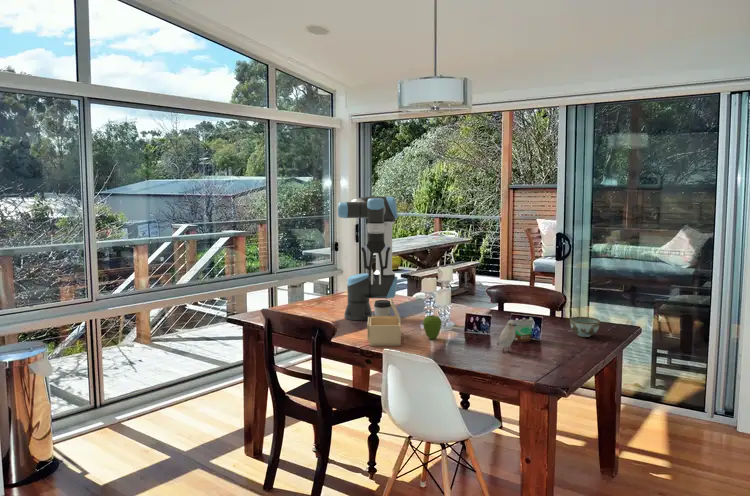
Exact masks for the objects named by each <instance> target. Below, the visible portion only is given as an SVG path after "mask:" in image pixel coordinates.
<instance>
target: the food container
mask: <svg viewBox="0 0 750 496" xmlns="http://www.w3.org/2000/svg"><path fill="white" fill-rule="evenodd" d="M512 320H513V321H515V322H516V325H517V326H515V339H514V340H513V342H518V343H527V342H531V338H532V331H533V329H532V328H533V325H534V324H535V322H534V319H533V317H531V316H529V318H526V319H525V318H521V319H517V320H516V319H512Z"/></svg>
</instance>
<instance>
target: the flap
mask: <svg viewBox="0 0 750 496" xmlns="http://www.w3.org/2000/svg"><path fill="white" fill-rule="evenodd" d="M389 301H390V303H391V308H392V311H393V312H394V316H396V317H397V319H398V321H399V323H400V325H402V321H401V320H402V319H401V315H400V313H399V311H398V309H397V306H396V304H395V302H394V300H393V298H389Z"/></svg>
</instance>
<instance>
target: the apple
mask: <svg viewBox="0 0 750 496" xmlns="http://www.w3.org/2000/svg"><path fill="white" fill-rule="evenodd" d="M422 323H423V324H422V325H423V330H424V332H425V334H426V336H427V338H428V339H429V340H436V339H437V338H438V337H439V334H440V332H441V329H442V325H443V324H442V320H441V318H440V317H439V316H438V315H433V314H431V315H427V316H426V317H424V318H423V321H422Z"/></svg>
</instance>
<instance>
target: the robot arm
mask: <svg viewBox="0 0 750 496" xmlns="http://www.w3.org/2000/svg"><path fill="white" fill-rule="evenodd" d="M337 216H338V218H340V219H367V243H366V245H364V246H362V247H361V252H362V253H363V254H362V256H363V264H364V265H363V266H364V269H366V270H367V271H368V273H366V272H365V273H357V274H352V275H350V276H349V277H348V278H347V282H346V286H347V305H346V306H345V307H346V308H345V311H344V315H343V316H344V319H346V320H350V321H366V320H367V321H368V317H369V320H370V317H371V316H374V315H373V314H374V313H373V311H372V307H371V304H370V299H385V300H387V299H390V298H392V299H394V298H395V297H396V293H397V286H398V280H399V279H398V276H396V273H395V272H394V271H393V225H394V224H395V223H396V220H397V219H398V218H399V216H398V206H397V200H396V198H395V197H393V196H387V195H386V196H362V197H358V198H355V199H352V200H351V201H340V202H339V203H338V205H337ZM367 249H368V250H369V252H370V254H369V255H370V257H369V263H368V261H367V259H368V258H367ZM374 254H375V271H374V270H373V269H372V265H373V260H374ZM368 264H369V265H368Z"/></svg>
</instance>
